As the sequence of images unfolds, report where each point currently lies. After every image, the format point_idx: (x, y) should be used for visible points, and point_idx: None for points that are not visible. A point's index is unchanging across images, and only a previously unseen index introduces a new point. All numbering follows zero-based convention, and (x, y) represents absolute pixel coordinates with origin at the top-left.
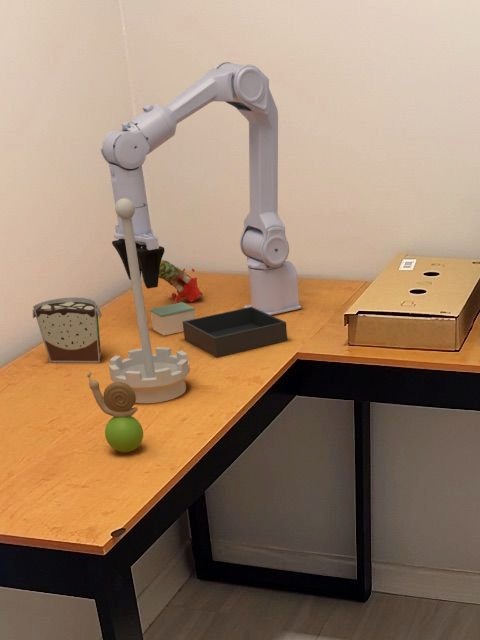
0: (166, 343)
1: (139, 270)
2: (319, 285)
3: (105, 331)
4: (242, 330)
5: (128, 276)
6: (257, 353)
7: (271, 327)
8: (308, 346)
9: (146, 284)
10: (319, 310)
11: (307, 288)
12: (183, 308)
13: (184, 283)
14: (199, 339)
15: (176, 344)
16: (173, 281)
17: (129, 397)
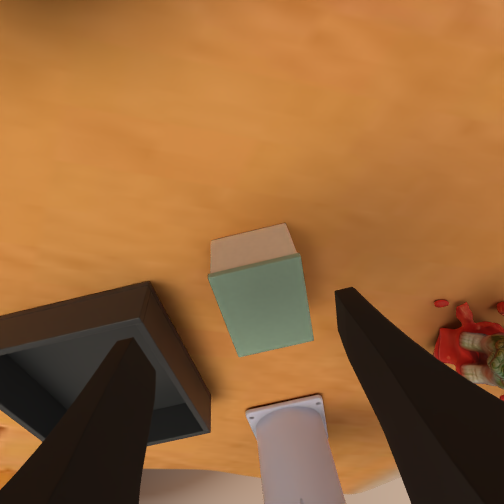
0: (133, 235)
1: (351, 363)
2: (368, 467)
3: (361, 65)
4: (159, 382)
5: (355, 296)
6: None
7: None
8: None
9: (104, 358)
10: (243, 460)
11: (366, 458)
12: (247, 336)
13: (474, 359)
14: (49, 319)
15: (115, 257)
16: (489, 349)
17: None
